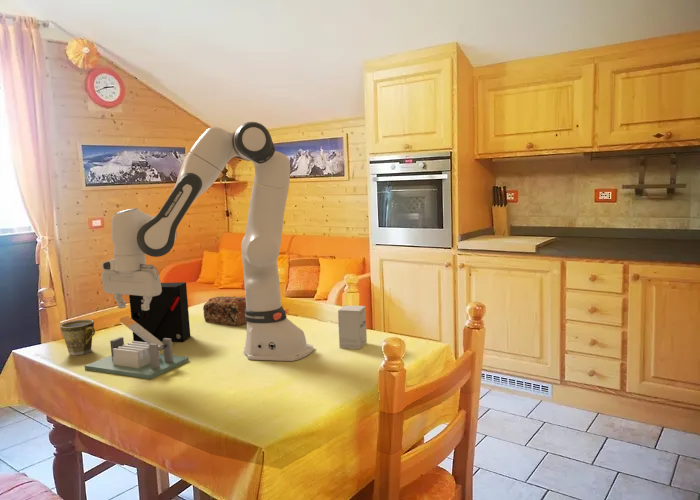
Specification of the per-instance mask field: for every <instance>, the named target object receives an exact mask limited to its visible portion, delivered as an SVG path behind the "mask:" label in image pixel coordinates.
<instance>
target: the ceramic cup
mask: <svg viewBox="0 0 700 500" xmlns="http://www.w3.org/2000/svg"><path fill="white" fill-rule="evenodd" d="M94 324H95V321H94V320H93V319H76V320H72V321H71V320H70V321H67V322H64V323H62V324H61V325H60V331H61V334H62V337H63V340H64V342H65V345H66V348H67V352H68V354H69V355H70V356H81V355H85V354H89V353H91V352H92V347H93V346H92V344H93V337H94V336H95V335H96V330H95V328H94V327H95V325H94Z"/></svg>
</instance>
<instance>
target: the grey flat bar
mask: <svg viewBox="0 0 700 500" xmlns="http://www.w3.org/2000/svg"><path fill="white" fill-rule="evenodd" d="M119 322H120V323H121V324H122V325H124V326H125V327H126V328H128V329H129V330H130V331H131V332H132V333H133V332H134V333H135V334H137V335H138V336H139V337H140V338H142V339H143V340H144V341H145V342H147V343H148V344H151V343H153V344H158V351H161V350H164V348H166V347H167V345H166V344H163V342H161V341H160V340H158V339H157V338H156V337H154V336H153V335H152V334H151V333H149V332H148V331H147V330H146V329H144V328H143V327H142V326H140V325H139V324H138V323H137V322H135V321H134V320H133V319H132V318H131V316H129V315H126V316H123V317H120V318H119Z"/></svg>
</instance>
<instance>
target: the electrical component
mask: <svg viewBox="0 0 700 500" xmlns="http://www.w3.org/2000/svg"><path fill="white" fill-rule="evenodd" d="M161 288H162V292H161V294H160V295H157V296H154V297H152V299H151V302H150V304H149V308H150V309H149V310H147V311H144V310H142V309H141V308H142V307H141V305H142V304H144V301H145V300H144V299H143V296H138V295H128V296H129V297H128V298H129V307H130V318H132V319H133V320H134V321H135V322H137V323H138V324H139V325H140V326H142V327H143V328H144V329H146V330H147V331H148V332H149V333H151V334H152V335H153V336H154V337H156V338H157V339H158V340H160V341H161V342H162V343H163V339H164V338H170V339H171V340H172V343H185V342H186V341H187V340H188V339H190V338H191V329H190V314H189V313H190V312H189V302H188V290H187V289H188V287H187V282H185V281H184V282H183V281H182V282H178V281H177V282H161ZM132 337H133V338H132V341H138V342H145V341H144V340H143V339H142V338H140V337H139V336H138V335H137V334H135V333H134V332H133V331H132Z"/></svg>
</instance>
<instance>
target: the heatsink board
mask: <svg viewBox="0 0 700 500" xmlns="http://www.w3.org/2000/svg"><path fill="white" fill-rule="evenodd" d="M109 343H110V350H111V351H110V352H111V355H109V356H107V357H104V358H101V359H98V360H96V361H93V362H91V363H87V364H86V365H84V370H85V371H93V372H99V373H106V374H111V373H112V374H111V375H118V374H119V376H126V377H132V378H139V379H145V380H152V379H155V378H156V377H159V376H160V375H162V374H164V373H167V372H169V371H171V370H173V369H175V368H177V367H180V366H181V365H184V364H185V363H188V362H190V359H189V356H180V355H175V354H174V353H173V342H172V340H171V339H170V338H164V339H163V342H162V343H163V344H166V345H167V347H166V348H164V349H163V353H161V350H159V351H158V344H153V343H151V344H148V343H147V342H138V341H133V340H132V341H131V342H128V343H127V344H125V342H124V337H122V336H120V337H117V338H114V339H112V340H109Z"/></svg>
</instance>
